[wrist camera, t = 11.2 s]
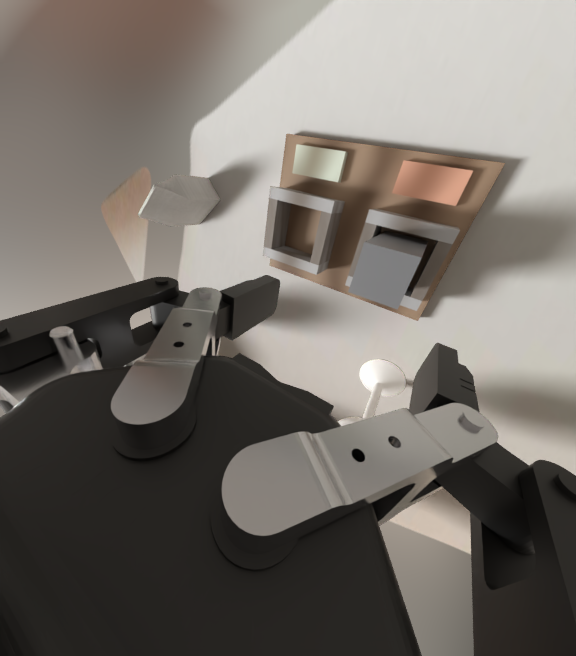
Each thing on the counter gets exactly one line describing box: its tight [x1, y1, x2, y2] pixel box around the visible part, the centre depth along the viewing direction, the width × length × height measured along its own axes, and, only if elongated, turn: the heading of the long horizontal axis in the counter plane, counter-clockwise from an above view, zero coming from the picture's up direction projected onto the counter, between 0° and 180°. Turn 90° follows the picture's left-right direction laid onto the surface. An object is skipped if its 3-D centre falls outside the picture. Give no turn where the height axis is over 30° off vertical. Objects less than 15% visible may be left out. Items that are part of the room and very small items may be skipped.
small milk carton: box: [138, 174, 220, 227], centre depth 36 cm, size 4×7×10 cm, turn 124°
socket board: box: [263, 134, 505, 321], centre depth 27 cm, size 22×16×5 cm
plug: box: [348, 231, 428, 310], centre depth 23 cm, size 4×4×10 cm
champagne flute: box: [337, 359, 406, 426], centre depth 27 cm, size 7×7×24 cm
